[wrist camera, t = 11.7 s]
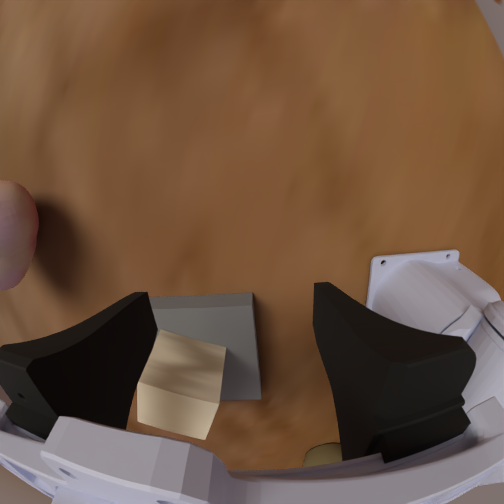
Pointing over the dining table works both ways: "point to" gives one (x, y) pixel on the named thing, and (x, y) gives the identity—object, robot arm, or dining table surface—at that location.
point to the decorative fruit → (16, 233)
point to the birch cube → (181, 385)
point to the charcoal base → (218, 335)
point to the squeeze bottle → (323, 455)
